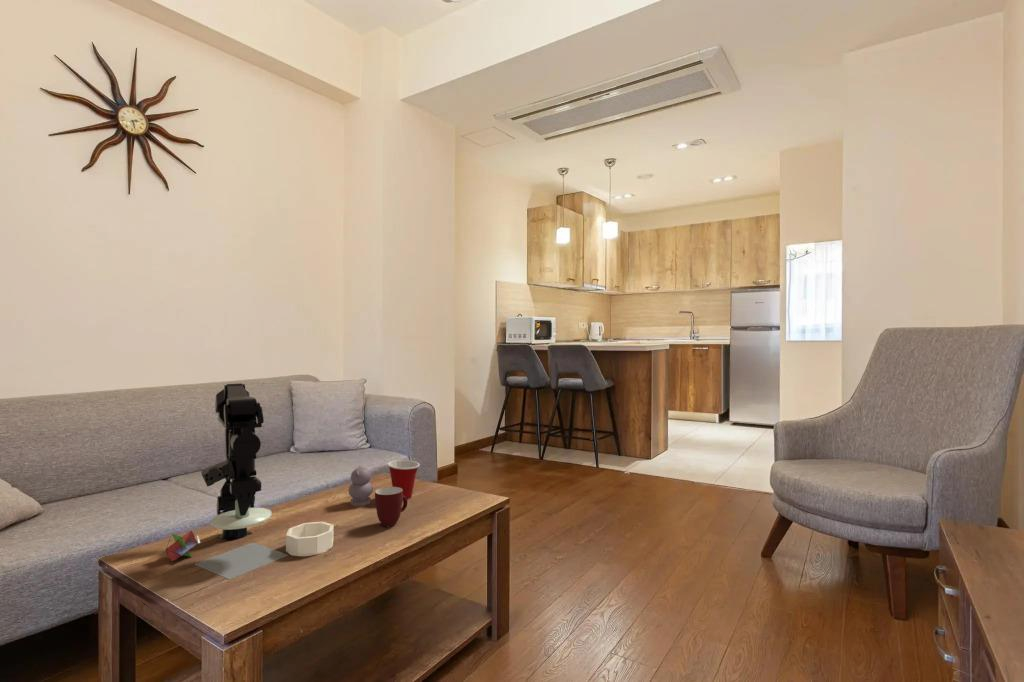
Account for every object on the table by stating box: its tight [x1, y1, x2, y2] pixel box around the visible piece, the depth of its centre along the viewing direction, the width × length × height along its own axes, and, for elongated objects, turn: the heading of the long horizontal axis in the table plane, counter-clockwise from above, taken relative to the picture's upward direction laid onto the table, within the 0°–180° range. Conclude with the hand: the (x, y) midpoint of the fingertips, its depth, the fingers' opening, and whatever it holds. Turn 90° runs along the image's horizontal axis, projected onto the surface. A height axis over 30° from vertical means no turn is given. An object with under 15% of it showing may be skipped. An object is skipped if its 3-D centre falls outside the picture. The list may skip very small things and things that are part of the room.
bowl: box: [285, 521, 335, 557], centre depth 132 cm, size 11×11×5 cm
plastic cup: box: [387, 459, 420, 500], centre depth 174 cm, size 11×11×12 cm
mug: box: [374, 486, 408, 528], centre depth 150 cm, size 11×8×10 cm
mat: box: [193, 542, 289, 580], centre depth 124 cm, size 15×15×1 cm
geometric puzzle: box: [164, 530, 201, 562], centre depth 125 cm, size 7×7×8 cm
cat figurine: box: [348, 464, 374, 507], centre depth 168 cm, size 8×8×12 cm
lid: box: [211, 500, 272, 531], centre depth 124 cm, size 13×13×5 cm
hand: (242, 513), depth 124 cm, fingers closed on lid, 3 cm apart
